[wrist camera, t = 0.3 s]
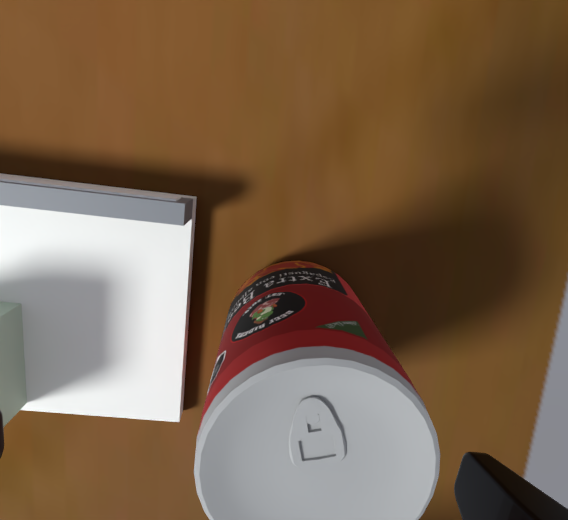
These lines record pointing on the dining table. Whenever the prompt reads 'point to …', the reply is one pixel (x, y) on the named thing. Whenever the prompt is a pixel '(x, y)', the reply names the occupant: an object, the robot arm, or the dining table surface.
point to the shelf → (99, 294)
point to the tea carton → (11, 361)
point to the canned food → (310, 409)
